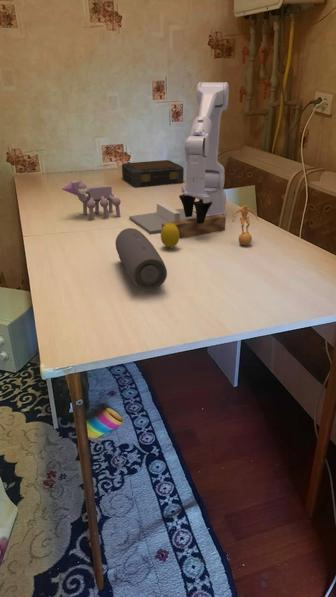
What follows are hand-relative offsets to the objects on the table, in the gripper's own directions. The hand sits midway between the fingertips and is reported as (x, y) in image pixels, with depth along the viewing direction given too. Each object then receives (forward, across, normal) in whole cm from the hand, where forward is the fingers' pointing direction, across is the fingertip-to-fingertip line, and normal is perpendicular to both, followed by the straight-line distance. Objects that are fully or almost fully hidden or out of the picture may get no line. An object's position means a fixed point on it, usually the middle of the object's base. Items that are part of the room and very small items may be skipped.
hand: (194, 219), depth 141 cm
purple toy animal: (+5, -33, -24) cm, 41 cm away
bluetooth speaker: (+5, +22, -29) cm, 37 cm away
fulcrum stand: (+5, -15, -2) cm, 16 cm away
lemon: (+5, +8, -13) cm, 16 cm away
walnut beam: (+5, 0, 0) cm, 5 cm away
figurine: (+5, +15, +9) cm, 18 cm away
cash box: (+5, -74, +20) cm, 77 cm away
